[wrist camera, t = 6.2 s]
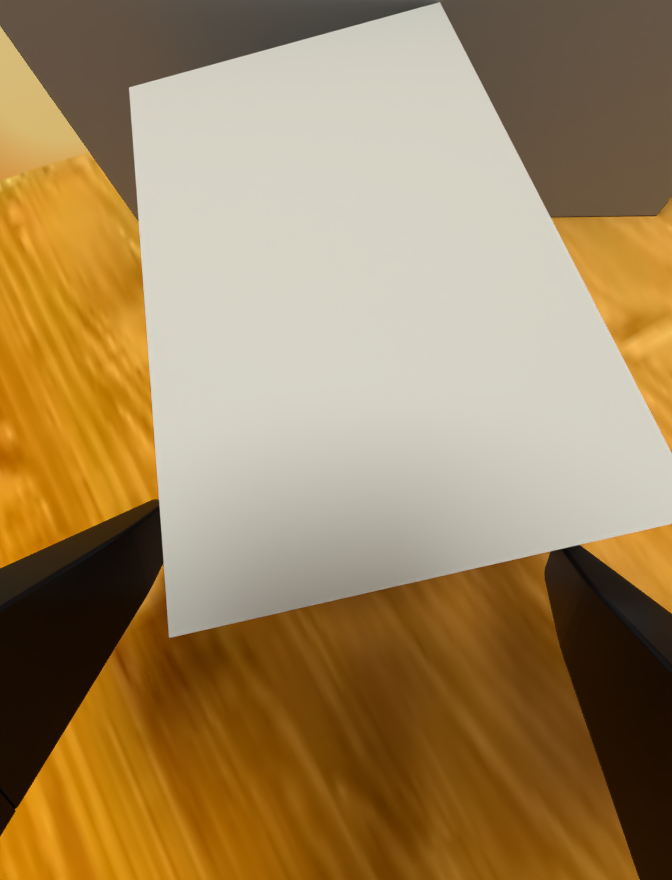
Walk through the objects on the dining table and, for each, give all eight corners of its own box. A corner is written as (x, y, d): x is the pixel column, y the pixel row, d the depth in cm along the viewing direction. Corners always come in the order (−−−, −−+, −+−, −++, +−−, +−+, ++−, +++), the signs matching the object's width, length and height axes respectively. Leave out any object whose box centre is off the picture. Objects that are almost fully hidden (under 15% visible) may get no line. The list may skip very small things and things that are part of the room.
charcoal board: (649, 176, 19) (927, -218, 9) (656, 215, 18) (963, -167, 9) (149, 188, 22) (-24, -92, 13) (139, 222, 21) (-52, -48, 12)
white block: (533, 539, 15) (704, 516, 7) (275, 598, 15) (169, 638, 7) (415, 219, 20) (439, 2, 12) (224, 268, 20) (128, 87, 12)
